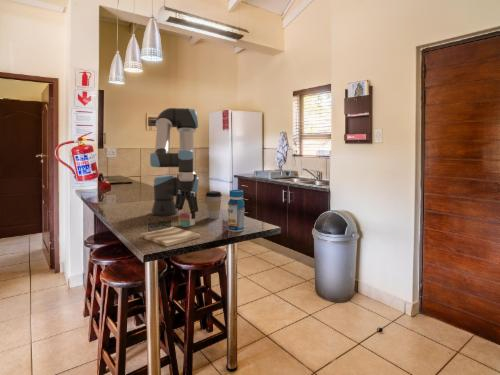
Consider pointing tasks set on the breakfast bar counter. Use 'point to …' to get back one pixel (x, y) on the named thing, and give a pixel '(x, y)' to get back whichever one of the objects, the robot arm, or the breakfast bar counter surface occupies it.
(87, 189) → the breakfast bar counter surface
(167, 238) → the serving board
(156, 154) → the robot arm
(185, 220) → the cupcake
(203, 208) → the breakfast bar counter surface
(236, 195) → the beverage bottle
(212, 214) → the coffee cup
